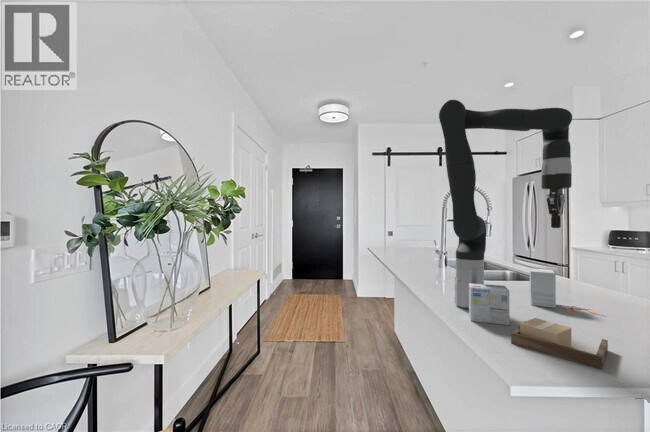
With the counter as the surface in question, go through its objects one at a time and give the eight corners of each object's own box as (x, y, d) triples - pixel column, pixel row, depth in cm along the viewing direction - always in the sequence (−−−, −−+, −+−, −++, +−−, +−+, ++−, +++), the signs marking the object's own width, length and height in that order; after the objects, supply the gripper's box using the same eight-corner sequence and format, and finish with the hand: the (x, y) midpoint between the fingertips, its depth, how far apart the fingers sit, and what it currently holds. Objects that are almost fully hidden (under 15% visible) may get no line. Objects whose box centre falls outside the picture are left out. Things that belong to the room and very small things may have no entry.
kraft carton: (535, 336, 80) (535, 317, 80) (571, 347, 73) (571, 327, 73) (520, 342, 76) (520, 323, 76) (556, 355, 69) (556, 333, 69)
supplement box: (553, 303, 109) (553, 269, 109) (555, 308, 102) (556, 273, 102) (529, 300, 113) (529, 267, 113) (530, 305, 106) (530, 270, 106)
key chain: (556, 310, 102) (556, 307, 102) (557, 305, 108) (557, 302, 108) (607, 318, 94) (607, 315, 94) (604, 312, 100) (604, 310, 100)
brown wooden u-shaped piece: (525, 329, 83) (525, 321, 83) (607, 350, 71) (607, 340, 71) (511, 343, 75) (511, 333, 75) (601, 369, 62) (601, 357, 62)
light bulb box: (504, 318, 93) (504, 284, 93) (510, 326, 86) (510, 290, 86) (467, 314, 96) (467, 282, 96) (470, 321, 90) (470, 287, 90)
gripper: (546, 176, 100) (546, 227, 100) (536, 172, 91) (536, 228, 91) (575, 174, 94) (574, 227, 94) (567, 170, 85) (567, 229, 85)
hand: (555, 227), depth 93 cm, fingers closed
